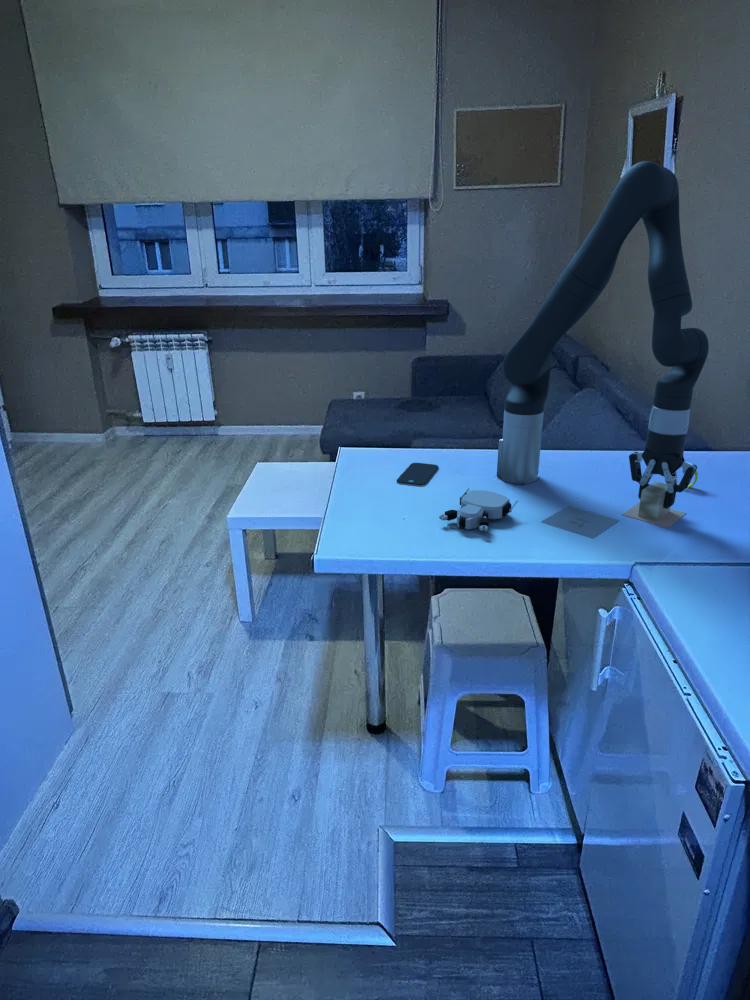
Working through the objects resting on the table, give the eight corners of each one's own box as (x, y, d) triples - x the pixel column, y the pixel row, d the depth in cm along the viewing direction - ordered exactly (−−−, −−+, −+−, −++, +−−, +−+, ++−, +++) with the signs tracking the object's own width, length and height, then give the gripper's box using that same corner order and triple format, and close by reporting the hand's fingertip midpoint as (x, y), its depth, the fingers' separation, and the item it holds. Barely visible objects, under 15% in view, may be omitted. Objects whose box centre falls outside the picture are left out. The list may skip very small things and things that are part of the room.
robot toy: (487, 544, 138) (519, 514, 148) (487, 524, 136) (520, 495, 146) (435, 529, 144) (469, 502, 155) (434, 510, 142) (469, 484, 153)
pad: (621, 515, 148) (621, 514, 147) (641, 502, 154) (641, 501, 154) (667, 528, 141) (667, 527, 141) (686, 514, 148) (686, 513, 148)
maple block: (637, 516, 146) (641, 490, 144) (651, 506, 151) (655, 481, 149) (656, 521, 144) (660, 494, 142) (669, 511, 149) (673, 485, 146)
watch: (695, 488, 163) (701, 464, 160) (693, 491, 161) (699, 468, 158) (668, 481, 166) (674, 459, 163) (666, 485, 163) (672, 462, 161)
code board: (540, 522, 144) (540, 521, 144) (568, 506, 153) (568, 505, 152) (593, 539, 137) (593, 538, 137) (619, 521, 145) (619, 520, 145)
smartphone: (394, 481, 167) (412, 461, 180) (394, 484, 167) (412, 465, 180) (424, 484, 164) (440, 464, 177) (424, 488, 164) (440, 468, 177)
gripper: (626, 425, 142) (615, 500, 149) (696, 439, 133) (682, 518, 140) (641, 417, 147) (630, 491, 154) (710, 430, 138) (695, 508, 145)
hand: (655, 503), depth 147 cm, fingers open, 4 cm apart
